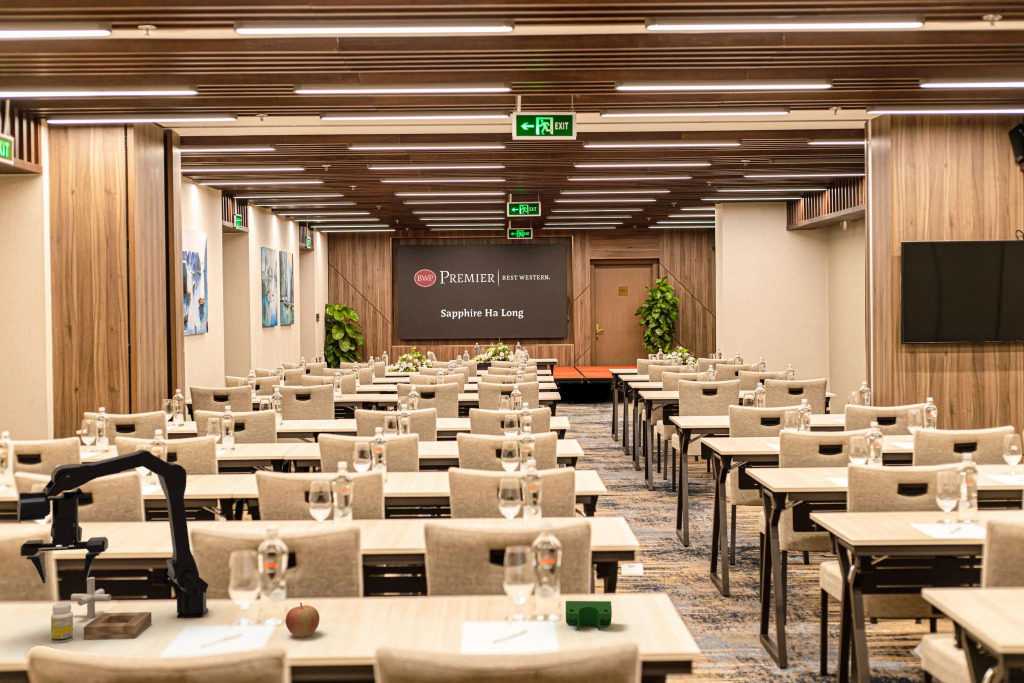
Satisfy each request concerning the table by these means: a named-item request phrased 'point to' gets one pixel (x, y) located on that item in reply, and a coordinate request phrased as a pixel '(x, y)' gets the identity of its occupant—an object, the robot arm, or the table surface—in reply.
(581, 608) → the clamp
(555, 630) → the table surface
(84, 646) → the table surface
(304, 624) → the apple
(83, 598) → the pipe connector
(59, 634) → the supplement bottle
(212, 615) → the table surface
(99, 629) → the holder
